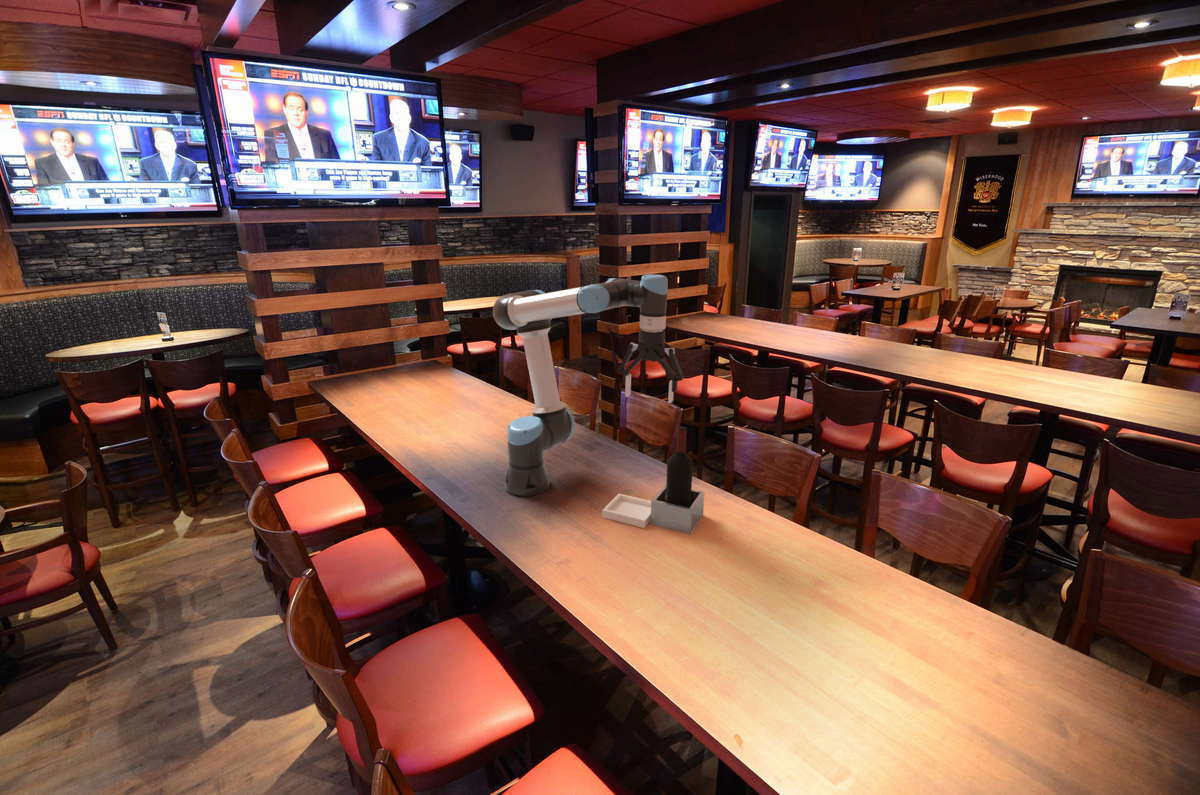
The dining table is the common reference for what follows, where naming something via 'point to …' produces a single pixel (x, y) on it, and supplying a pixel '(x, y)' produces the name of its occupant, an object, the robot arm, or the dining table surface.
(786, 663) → the dining table surface
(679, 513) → the holder
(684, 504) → the wine bottle
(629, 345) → the robot arm
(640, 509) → the tray
